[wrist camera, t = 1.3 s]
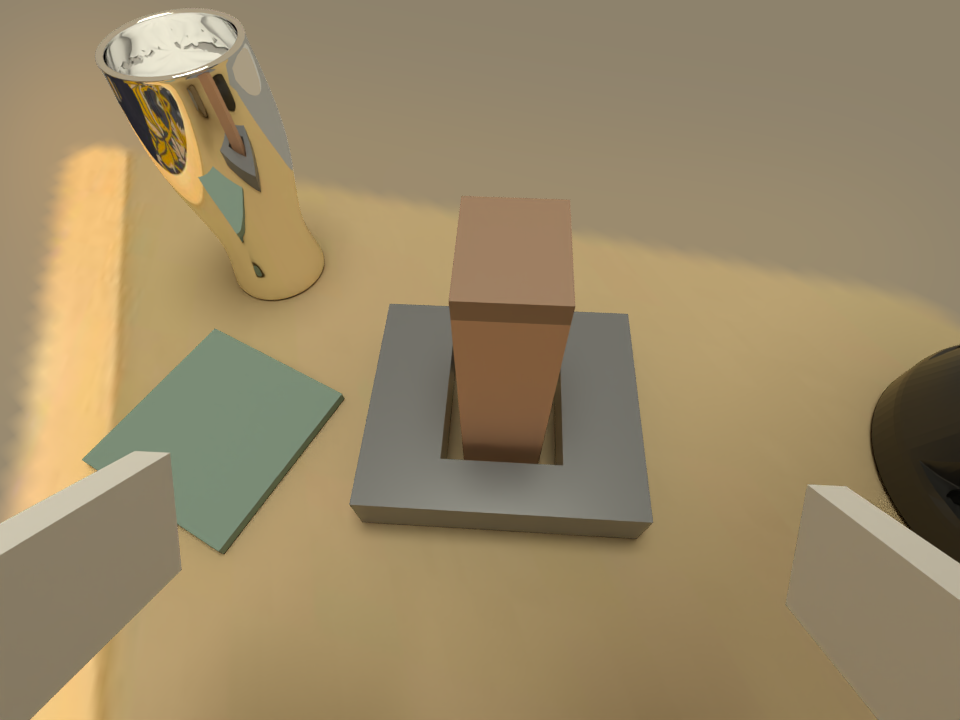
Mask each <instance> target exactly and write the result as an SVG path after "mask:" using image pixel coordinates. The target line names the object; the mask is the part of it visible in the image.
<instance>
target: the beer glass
mask: <svg viewBox="0 0 960 720" xmlns="http://www.w3.org/2000/svg"><path fill="white" fill-rule="evenodd" d="M95 60H96V63H97V65H98V67H99V68H100V69H101V71H102V73H103V74H104V76H105V78H106V80H107V82H108V84H109V85H110V87H111V89H112V91H113V93H114V95H115V97H116V99H117V101H118V103H119V105H120V106H121V109H122V110H123V112H124V114H125V116H126V118H127V120H128V122H129V123H130V125H131V127H132V129H133V130H134V132H135V134H136V135H137V137H138V139H139V140H140V142H141V144H142V146H143V147H144V149H145V150H146V152H147V153H148V155H149V156H150V158H151V159H152V161H153V162H154V164H155V165H156V167H157V168H158V170H159V171H160V172H161V174H162V175H163V176H164V177H165V179H166V180H167V181H168V182H169V184H170V185H171V186H172V187H173V189H174V190H175V191H176V192H177V193H178V195H179V196H180V197H181V198H182V199H183V200H184V201H185V202H186V203H187V205H188V206H189V207H190V208H191V209H192V210H193V211H194V212H195V213H196V214H197V216H198V217H199V218H200V219H201V220H202V221H203V222H204V223H205V224H206V225H207V226H208V228H209V229H210V230H211V231H212V232H213V233H214V234H215V236H216V237H217V238H218V240H219V241H220V242H221V244H222V245H223V247H224V248H225V250H226V252H227V254H228V256H229V259H230V261H231V264H232V267H233V271H234V274H235V277H236V280H237V282H238V284H239V286H240V287H241V288H242V289H243V290H244V291H245V292H246V293H248V294H249V295H251V296H253V297H255V298H259V299H264V300H279V299H285V298H289V297H292V296H295V295H297V294H299V293H301V292H303V291H305V290H306V289H308V288H309V287H310V286H311V285H312V284H314V283H315V281H316V280H317V279H318V278H319V276H320V275H321V273H322V270H323V267H324V255H323V252H322V250H321V248H320V246H319V244H318V243H317V241H316V240H315V238H314V237H313V235H312V234H311V232H310V231H309V230H308V228H307V226H306V224H305V222H304V220H303V217H302V214H301V211H300V207H299V201H298V196H297V190H296V183H295V177H294V171H293V165H292V159H291V154H290V150H289V146H288V142H287V137H286V133H285V129H284V126H283V123H282V120H281V117H280V114H279V111H278V108H277V106H276V103H275V101H274V98H273V96H272V93H271V91H270V88H269V86H268V83H267V81H266V79H265V76H264V74H263V72H262V70H261V68H260V65H259V63H258V61H257V59H256V56H255V54H254V52H253V50H252V48H251V46H250V44H249V41H248V39H247V37H246V34H245V30H244V28H243V26H242V24H241V23H240V22H239V21H238V20H237V19H236V18H234V17H233V16H231V15H229V14H227V13H224V12H220V11H216V10H211V9H201V8H187V9H175V10H168V11H163V12H158V13H154V14H151V15H147V16H144V17H141V18H138V19H135V20H133V21H130V22H129V23H126V24H124V25H123V26H120V27H119V28H117V29H116V30H114V31H113V32H111V33H110V34H109V35H107V36H106V37H105V38H104V39H103V40H102V41H101V43H100V44H99V46H98V47H97V50H96V53H95Z"/></svg>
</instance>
